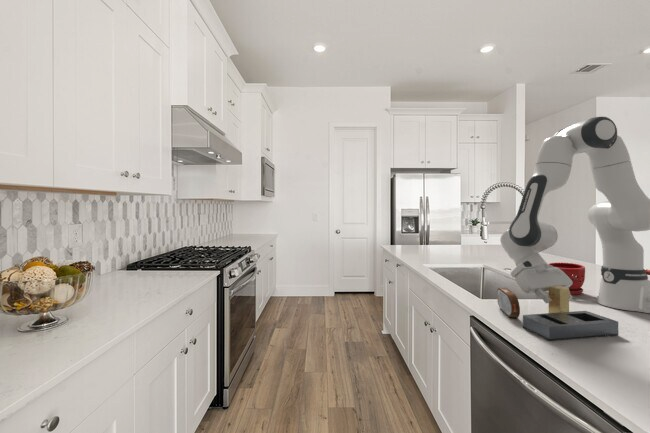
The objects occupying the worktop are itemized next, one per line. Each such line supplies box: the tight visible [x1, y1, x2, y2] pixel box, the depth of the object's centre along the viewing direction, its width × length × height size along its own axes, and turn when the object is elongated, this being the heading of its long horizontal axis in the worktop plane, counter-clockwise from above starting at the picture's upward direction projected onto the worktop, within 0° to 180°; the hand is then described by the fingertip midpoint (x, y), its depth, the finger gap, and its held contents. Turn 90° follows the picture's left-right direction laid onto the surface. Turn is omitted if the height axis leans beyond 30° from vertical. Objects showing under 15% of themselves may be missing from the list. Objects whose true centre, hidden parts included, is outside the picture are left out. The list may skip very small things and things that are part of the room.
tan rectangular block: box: [548, 286, 570, 313], centre depth 108 cm, size 4×4×10 cm
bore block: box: [522, 310, 619, 342], centre depth 95 cm, size 22×10×4 cm, turn 97°
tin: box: [496, 286, 521, 318], centre depth 112 cm, size 15×3×8 cm, turn 168°
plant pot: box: [547, 262, 586, 296], centre depth 137 cm, size 13×13×12 cm
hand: (559, 300), depth 107 cm, fingers open, 8 cm apart
